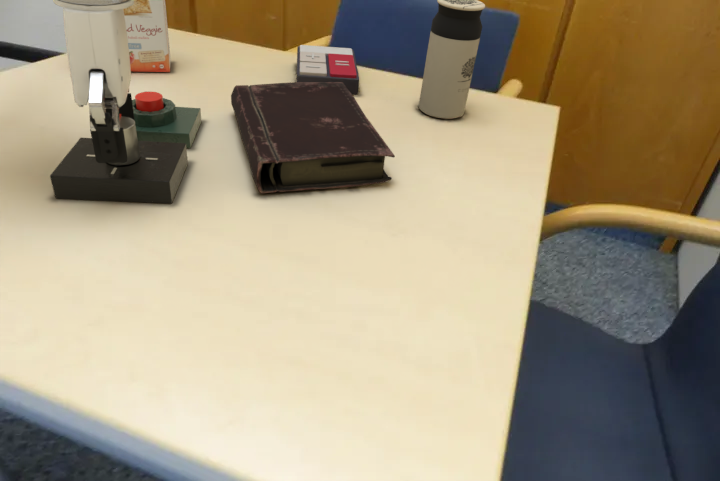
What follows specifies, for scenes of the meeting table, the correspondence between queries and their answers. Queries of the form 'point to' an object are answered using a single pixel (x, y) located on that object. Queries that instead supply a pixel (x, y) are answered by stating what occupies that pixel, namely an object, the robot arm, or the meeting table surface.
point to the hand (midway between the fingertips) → (117, 142)
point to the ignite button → (149, 101)
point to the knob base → (121, 174)
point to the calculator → (327, 66)
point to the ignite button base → (167, 124)
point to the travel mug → (451, 58)
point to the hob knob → (129, 140)
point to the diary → (307, 137)
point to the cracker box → (148, 36)
